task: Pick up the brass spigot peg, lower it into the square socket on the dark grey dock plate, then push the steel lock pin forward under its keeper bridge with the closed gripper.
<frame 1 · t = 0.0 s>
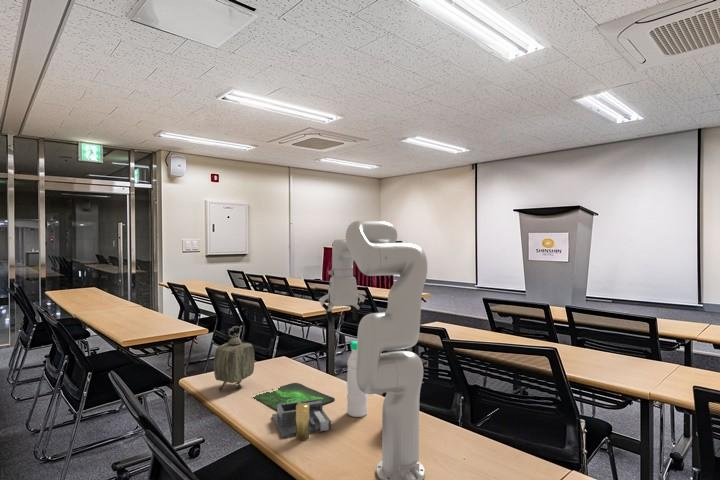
hand: (342, 320, 149), 31 cm above the table, fingers open, 9 cm apart
dock: (301, 423, 137), on the table
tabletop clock: (235, 388, 168), on the table
water bottle: (357, 414, 144), on the table
lock pin: (320, 420, 133), point 2 cm above the table, slide at 0.0 cm
mouse mat: (292, 399, 158), on the table
supplement can: (398, 426, 135), on the table
spigot peg: (302, 437, 127), on the table
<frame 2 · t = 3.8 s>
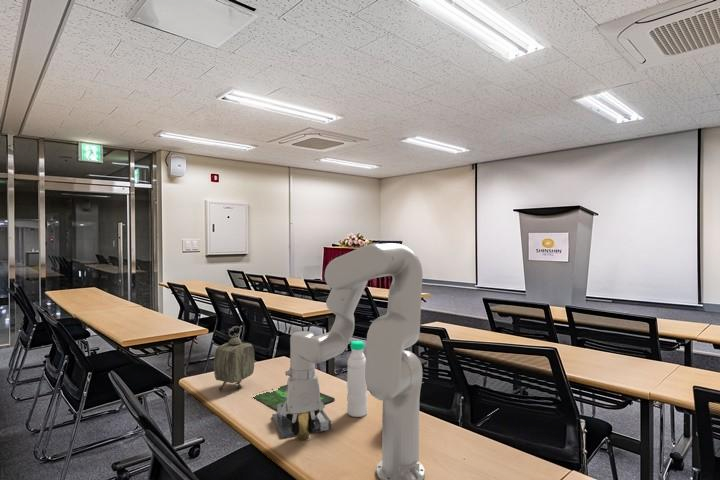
hand: (302, 431, 127), 2 cm above the table, fingers closed on spigot peg, 4 cm apart
spigot peg: (302, 437, 127), on the table, touching dock, gripper
everything else where it was.
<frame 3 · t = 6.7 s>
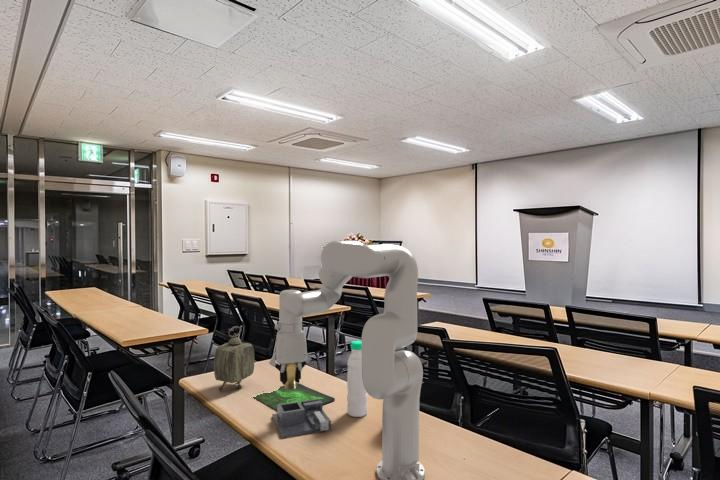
hand: (290, 381, 137), 13 cm above the table, fingers closed on spigot peg, 4 cm apart
spigot peg: (290, 387, 137), point 12 cm above the table, touching gripper
everything else where it was.
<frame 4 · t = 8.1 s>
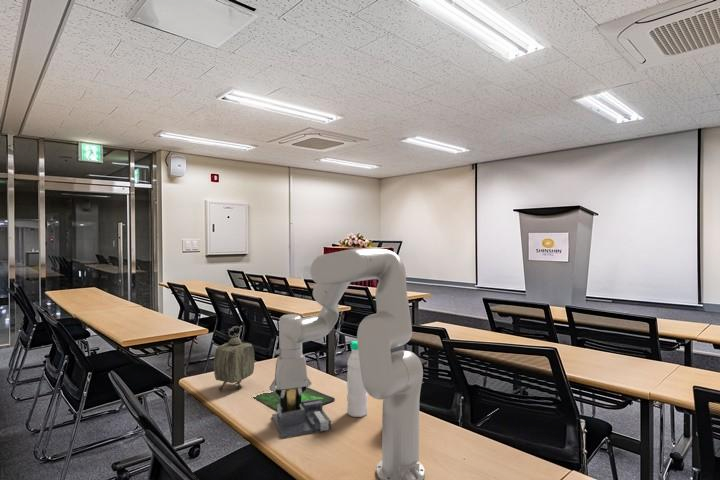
hand: (290, 406, 137), 5 cm above the table, fingers closed on spigot peg, 4 cm apart
spigot peg: (290, 412, 137), point 3 cm above the table, touching gripper
everything else where it was.
when the fingers open (5 cm above the table, at t = 9.5 s): spigot peg drops 2 cm, resting on dock.
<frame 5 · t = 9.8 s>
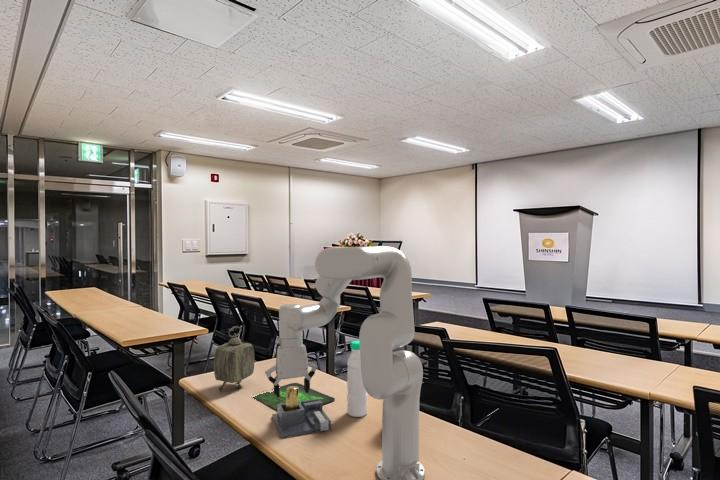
hand: (292, 393, 137), 10 cm above the table, fingers open, 9 cm apart
spigot peg: (290, 418, 137), point 1 cm above the table, tilted 6°, touching dock
everything else where it was.
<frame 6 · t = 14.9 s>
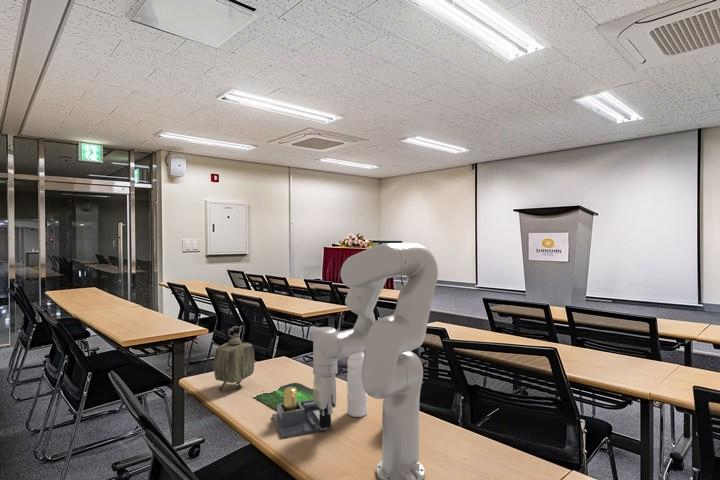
hand: (325, 426, 128), 3 cm above the table, fingers closed
lock pin: (319, 419, 134), point 2 cm above the table, slide at 0.8 cm, touching gripper
spigot peg: (290, 419, 137), point 1 cm above the table, touching dock
everything else where it was.
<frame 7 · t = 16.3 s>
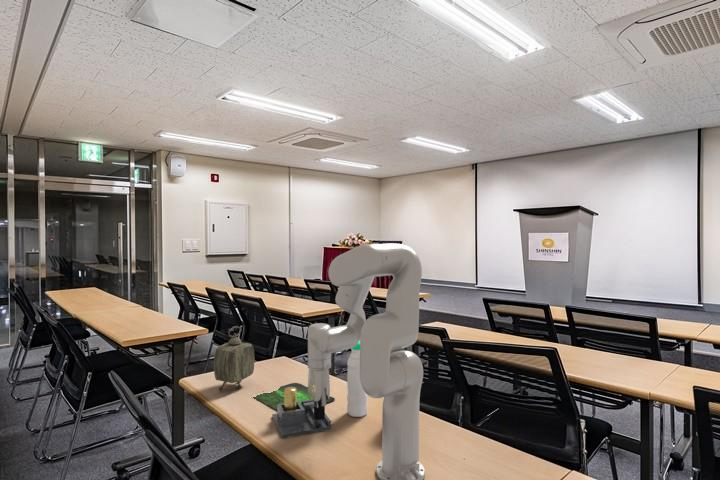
hand: (319, 418, 134), 2 cm above the table, fingers closed
lock pin: (314, 411, 140), point 2 cm above the table, slide at 7.2 cm, touching gripper
everything else where it was.
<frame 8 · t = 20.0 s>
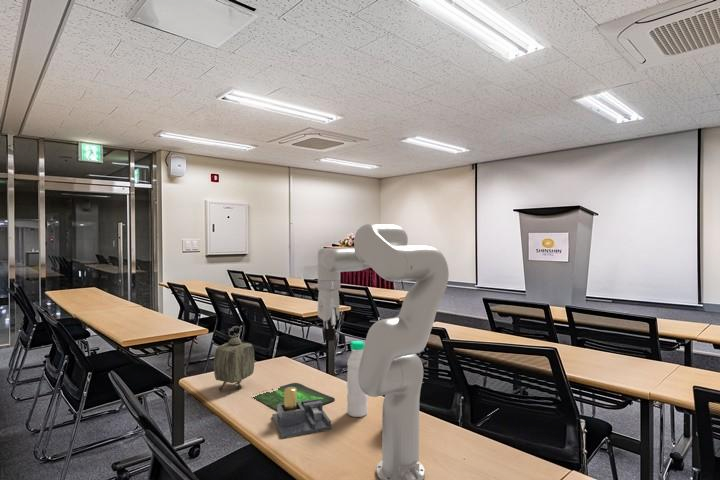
hand: (329, 340, 138), 27 cm above the table, fingers closed
lock pin: (314, 411, 140), point 2 cm above the table, slide at 7.3 cm
everything else where it was.
at the end: spigot peg 0.1 cm from the target spot on the dock, point 1.0 cm above the dock's base; spigot peg tilted 0°; lock pin slide at 7.3 cm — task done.
